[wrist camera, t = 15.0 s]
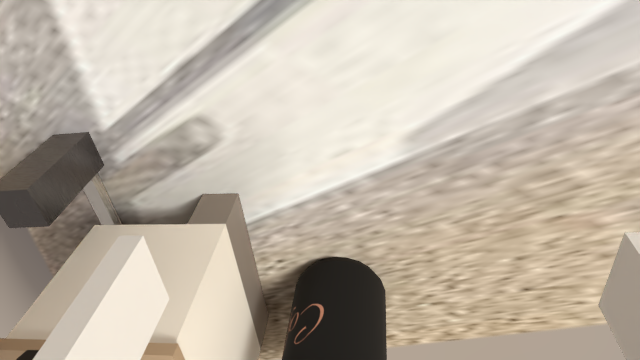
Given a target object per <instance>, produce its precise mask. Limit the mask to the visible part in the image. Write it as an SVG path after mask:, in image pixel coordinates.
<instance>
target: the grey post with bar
mask: <svg viewBox="0 0 640 360" xmlns="http://www.w3.org/2000/svg"><path fill="white" fill-rule="evenodd" d="M103 166H104V164H103V161H102V159H101V157H100V155H99V153H98V151H97V149H96V147H95V145H94V142H93V140H92V138H91V136H90V134H89V132H85V133H72V134H59V135H53V136H52V137H50V138H49V139H48V140H47V141H46V142H44V143H43V144H42V145H41V146H40V147H38V148H37V149H36V150H35V151H34V152H32V153H31V154H30V155H29V156H28V157H26V158H25V159H24V160H23V161H22V162H20V163H19V164H18V165H17V166H16V167H14V168H13V169H12V170H11V171H10V172H8V173H7V174H6V175H5V176H4V177H2V178H1V179H0V215H1V216H2V218H3V219H4V221H5V222H6V224H7V225H8V227H9V228H17V227H42V226H50V224H51V223H52V222H53V221H54V220H55V219H56V218H57V217H58V216H59V215H60V213H61V212H62V211H63V210H64V209H65V208H66V207H67V206H68V205H69V204H70V202H71V201H72V200H73V199H74V198H75V197H76V196H77V195H78V194H79V193H80V191H81V190H82V189H83V190H84V192H85V194H86V196H87V198H88V200H89V202H90V204H91V206H92V208H93V209H94V211H95V213H96V215H97V217H98V219H99V221H100V223H101V225H123V224H122V222H121V220H120V218H119V216H118V214H117V212H116V210H115V208H114V206H113V204H112V202H111V200H110V198H109V196H108V193H107V191H106V189H105V187H104V185H103V183H102V181H101V179H100V177H99V175H98V172H99V171H100V169H101V168H102V167H103Z"/></svg>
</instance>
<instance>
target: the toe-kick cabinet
mask: <svg viewBox="0 0 640 360" xmlns="http://www.w3.org/2000/svg"><path fill="white" fill-rule="evenodd" d="M119 236H144V239H145V241H146V244H147V246H148V248H149V251H150V253H151V256H152V258H153V260H154V263H155V265H156V267H157V270H158V272H159V275H160V277H161V279H162V282H163V284H164V287H165V289H166V291H167V294H168V296H169V301H168V303H167V305H166V307H165V309H164V311H163V314H162V316H161V318H160V320H159V322H158V324H157V326H156V328H155V330H154V332H153V334H152V337H151V339H150V341H149V343H148V345H147V347H146V349H145V351H144V353H143V355H142V357H141V360H258V358H259V354H260V350H261V346H262V342H263V337H264V333H265V329H266V325H267V321H268V317H269V316H268V312H267V308H266V304H265V300H264V295H263V291H262V287H261V283H260V279H259V275H258V271H257V267H256V263H255V259H254V255H253V251H252V247H251V243H250V239H249V235H248V231H247V226H246V222H245V218H244V214H243V210H242V206H241V202H240V198H239V194H203V195H202V197H201V199H200V201H199V203H198V204H197V206H196V208H195V210H194V212H193V214H192V216H191V218H190V220H189V221H188V223H187V224H154V225H94V226H93V228H92V229H91V230H90V231H89V233H88V234H87V235H86V237H85V238H84V239H83V240H82V242H81V243H80V244H79V245H78V247H77V248H76V249H75V251H74V252H73V253H72V254H71V256H70V257H69V258H68V259H67V261H66V262H65V263H64V265H63V266H62V267H61V268H60V270H59V271H58V272H57V273H56V275H55V276H54V277H53V279H52V280H51V281H50V282H49V284H48V285H47V286H46V287H45V289H44V290H43V291H42V293H41V294H40V295H39V297H38V298H37V299H36V300H35V301H34V303H33V304H32V306H31V307H30V308H29V309H28V310H27V312H26V313H25V314H24V316H23V317H22V318H21V319H20V321H19V322H18V323H17V324H16V326H15V327H14V328H13V329H12V331H11V332H10V333H9V335H8V336H7V337H6V338H5V339H4V338H2V339H1V338H0V360H16V359H17V358H18V357H19V356H21V355H22V354H23V353H24V352H25V351H26V350H40V348H41V347H42V346H43V344H44V343H45V341H46V340H47V338H48V337H49V336H50V334H51V333H52V331H53V330H54V328H55V327H56V325H57V324H58V323H59V321H60V320H61V318H62V317H63V315H64V314H65V313H66V311H67V310H68V308H69V307H70V305H71V304H72V303H73V301H74V300H75V298H76V297H77V295H78V294H79V292H80V291H81V290H82V288H83V287H84V285H85V284H86V282H87V281H88V280H89V278H90V277H91V275H92V274H93V272H94V271H95V270H96V268H97V267H98V265H99V264H100V262H101V261H102V259H103V258H104V257H105V255H106V254H107V252H108V251H109V249H110V248H111V247H112V245H113V244H114V242H115V241H116V239H117V238H118V237H119Z"/></svg>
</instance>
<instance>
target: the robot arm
mask: <svg viewBox="0 0 640 360" xmlns="http://www.w3.org/2000/svg"><path fill="white" fill-rule="evenodd" d="M168 301H169V296H168V294H167V291H166V289H165V287H164V284H163V282H162V279H161V277H160V275H159V272H158V270H157V267H156V265H155V263H154V260H153V258H152V256H151V253H150V251H149V248H148V246H147V244H146V241H145V239H144V236H119V237H118V238H117V239H116V241H115V242H114V244H113V245H112V247H111V248H110V249H109V251H108V252H107V254H106V255H105V257H104V258H103V259H102V261H101V262H100V264H99V265H98V267H97V268H96V270H95V271H94V272H93V274H92V275H91V277H90V278H89V280H88V281H87V282H86V284H85V285H84V287H83V288H82V290H81V291H80V292H79V294H78V295H77V297H76V298H75V300H74V301H73V303H72V304H71V305H70V307H69V308H68V310H67V311H66V313H65V314H64V315H63V317H62V318H61V320H60V321H59V323H58V324H57V325H56V327H55V328H54V330H53V331H52V333H51V334H50V336H49V337H48V338H47V340H46V341H45V343H44V344H43V346H42V347H41V348H40V350H26V351H25V352H24V353H23V354H22V355H21V356H19V357H18V358H17V359H16V360H141V357H142V355H143V353H144V351H145V349H146V347H147V345H148V343H149V341H150V339H151V337H152V334H153V332H154V330H155V328H156V326H157V324H158V322H159V320H160V318H161V316H162V314H163V311H164V309H165V307H166V305H167V303H168ZM599 307H600V309H601V311H602V313H603V315H604V317H605V319H606V321H607V323H608V325H609V327H610V329H611V331H612V333H613V335H614V337H615V339H616V341H617V343H618V345H619V347H620V349H621V350H622V353H623V355H624V357H625V359H626V360H640V232H625V233H624V236H623V239H622V241H621V244H620V247H619V250H618V252H617V255H616V258H615V261H614V263H613V266H612V269H611V272H610V274H609V277H608V280H607V283H606V285H605V288H604V291H603V294H602V296H601V299H600V302H599Z"/></svg>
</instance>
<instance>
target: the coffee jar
mask: <svg viewBox="0 0 640 360" xmlns="http://www.w3.org/2000/svg"><path fill="white" fill-rule="evenodd" d="M386 359H387V355H386V304H385V289H384V286H383V284H382V281H381V280H380V278H379V277H378V276H377V275H376V274H375V273H374V272H373V271H372V270H371V269H370V268H369V267H368V266H366V265H364V264H363V263H361V262H359V261H356V260H353V259H349V258H339V257H333V258H328V259H323V260H321V261H318V262H316V263H314V264H312V265H311V266H310V267H308V268H307V269H306V270H305V271H304V272H303V273H302V274H301V276H300V277H299V279H298V282H297V285H296V288H295V294H294V299H293V304H292V309H291V314H290V320H289V325H288V330H287V335H286V340H285V346H284V351H283V356H282V360H386Z"/></svg>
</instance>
